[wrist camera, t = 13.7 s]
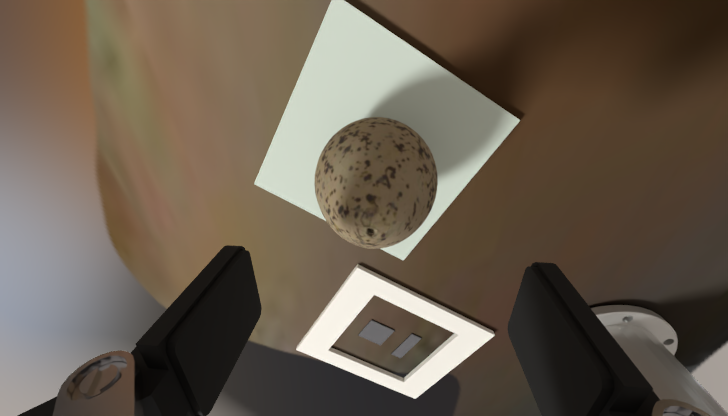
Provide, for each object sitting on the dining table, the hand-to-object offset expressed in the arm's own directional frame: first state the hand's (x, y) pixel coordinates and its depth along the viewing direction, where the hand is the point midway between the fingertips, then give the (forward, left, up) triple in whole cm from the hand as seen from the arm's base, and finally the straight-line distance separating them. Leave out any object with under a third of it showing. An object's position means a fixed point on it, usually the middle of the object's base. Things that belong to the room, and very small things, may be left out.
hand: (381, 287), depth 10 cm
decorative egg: (+1, 0, -13) cm, 13 cm away
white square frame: (-11, +17, -14) cm, 24 cm away
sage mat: (+1, 0, -14) cm, 14 cm away
